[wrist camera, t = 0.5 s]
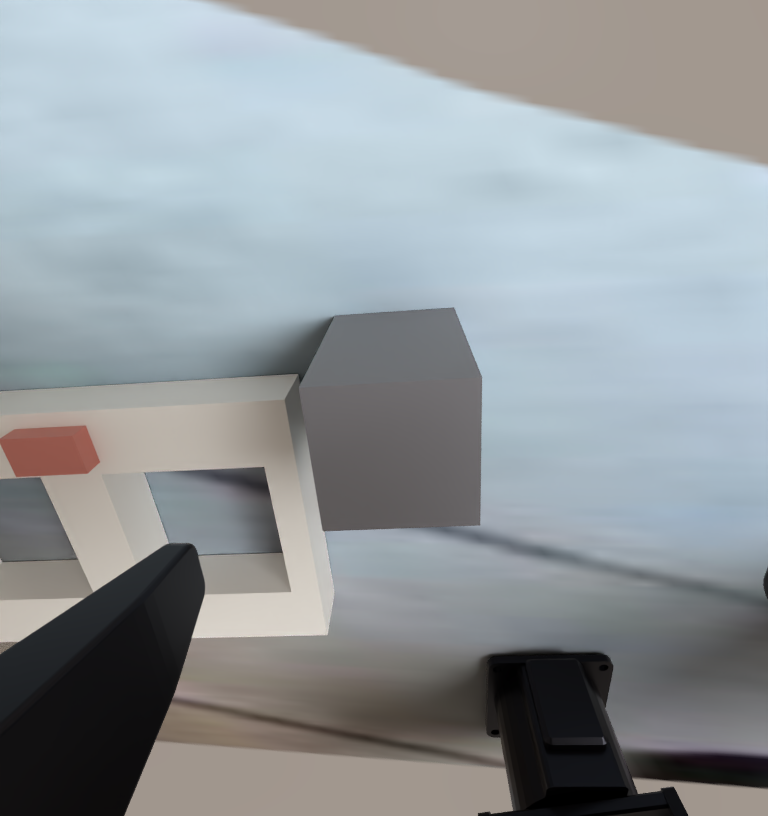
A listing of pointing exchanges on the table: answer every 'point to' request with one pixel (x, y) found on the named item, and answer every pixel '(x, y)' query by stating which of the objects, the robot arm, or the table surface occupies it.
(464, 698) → the table surface
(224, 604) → the faceplate
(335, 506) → the plug
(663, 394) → the table surface
